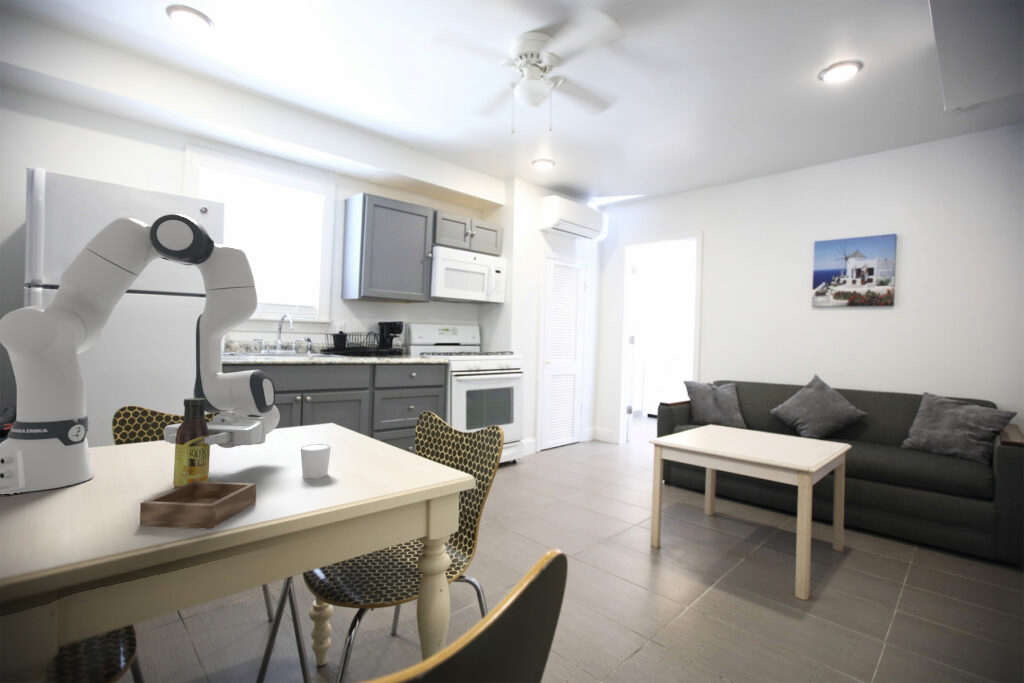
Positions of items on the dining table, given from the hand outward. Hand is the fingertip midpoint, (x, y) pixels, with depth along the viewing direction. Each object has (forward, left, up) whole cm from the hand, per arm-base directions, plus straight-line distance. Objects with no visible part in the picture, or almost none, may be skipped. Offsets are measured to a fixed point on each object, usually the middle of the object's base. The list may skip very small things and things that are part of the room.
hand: (189, 440), depth 100 cm
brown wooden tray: (+11, -11, -11) cm, 19 cm away
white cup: (+20, +16, -11) cm, 28 cm away
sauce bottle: (0, +1, -11) cm, 11 cm away
